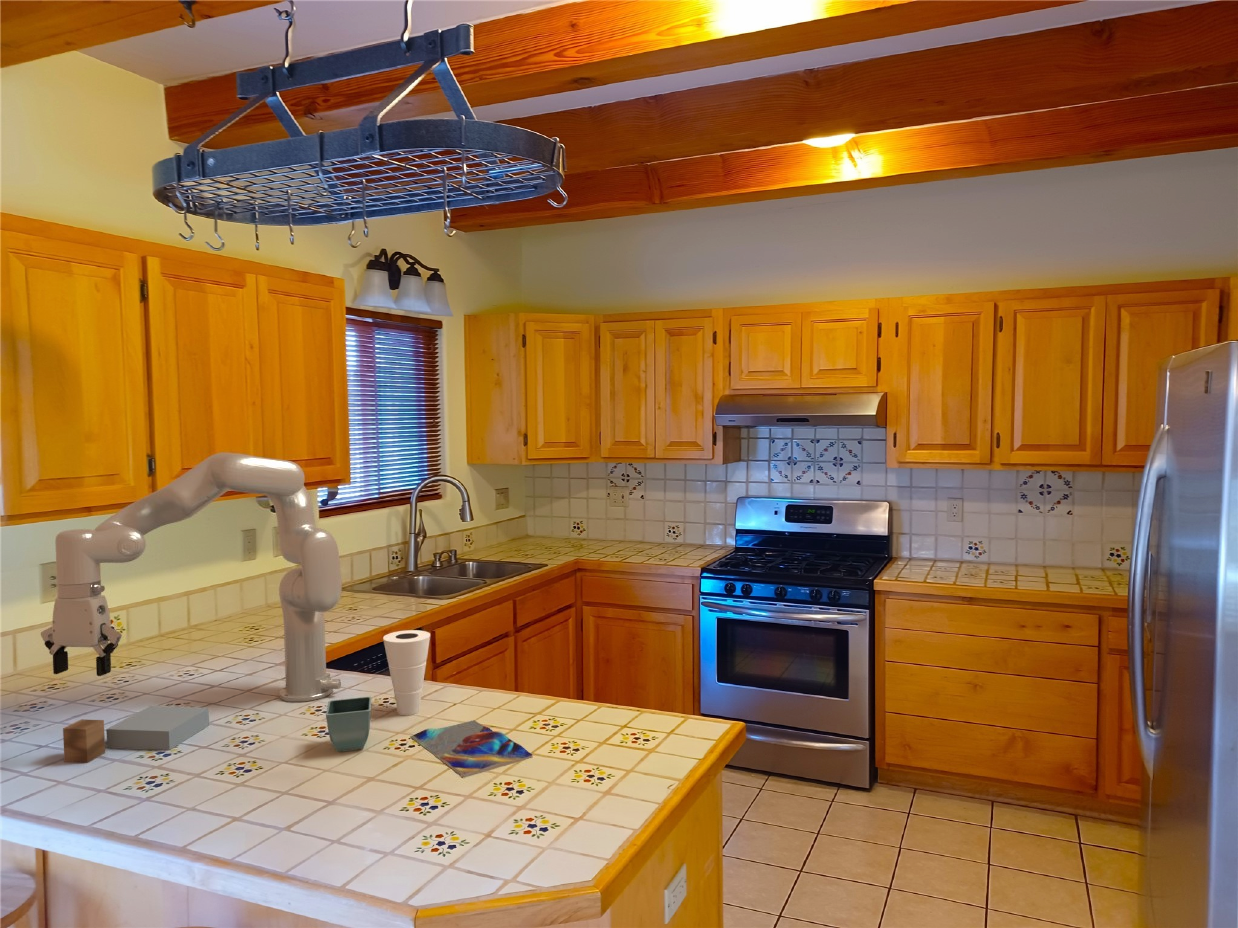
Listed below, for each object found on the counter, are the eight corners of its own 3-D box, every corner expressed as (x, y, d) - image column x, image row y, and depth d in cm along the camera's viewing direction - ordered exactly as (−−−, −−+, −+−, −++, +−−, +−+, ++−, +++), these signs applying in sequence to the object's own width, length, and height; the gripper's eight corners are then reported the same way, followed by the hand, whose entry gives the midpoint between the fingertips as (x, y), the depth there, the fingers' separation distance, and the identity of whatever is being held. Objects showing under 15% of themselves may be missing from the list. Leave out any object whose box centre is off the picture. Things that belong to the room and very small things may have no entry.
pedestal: (209, 725, 188) (208, 707, 188) (169, 749, 174) (168, 731, 174) (150, 723, 189) (150, 705, 189) (107, 747, 175) (106, 729, 175)
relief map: (410, 740, 180) (410, 731, 180) (474, 724, 189) (474, 715, 189) (464, 780, 160) (464, 770, 160) (532, 760, 169) (532, 750, 169)
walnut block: (105, 753, 173) (103, 719, 172) (87, 763, 168) (85, 729, 167) (82, 752, 173) (81, 719, 173) (64, 762, 168) (62, 728, 168)
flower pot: (326, 757, 170) (325, 714, 169) (329, 741, 178) (328, 699, 178) (371, 752, 172) (370, 709, 172) (372, 736, 181) (371, 695, 180)
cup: (441, 709, 197) (439, 634, 196) (406, 723, 188) (404, 644, 187) (410, 700, 203) (408, 627, 202) (375, 714, 194) (373, 637, 193)
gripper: (131, 587, 172) (133, 669, 173) (55, 585, 175) (58, 666, 176) (104, 595, 165) (107, 680, 166) (25, 593, 167) (29, 677, 168)
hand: (82, 673), depth 171 cm, fingers open, 9 cm apart
